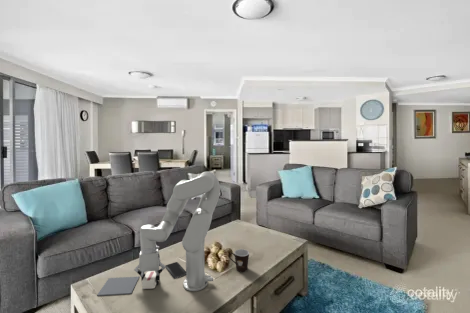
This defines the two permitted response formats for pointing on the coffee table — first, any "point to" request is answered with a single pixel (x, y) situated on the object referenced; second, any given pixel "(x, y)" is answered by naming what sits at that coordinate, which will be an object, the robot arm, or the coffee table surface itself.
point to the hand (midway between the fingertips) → (150, 281)
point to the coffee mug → (241, 259)
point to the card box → (149, 280)
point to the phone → (175, 270)
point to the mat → (118, 286)
